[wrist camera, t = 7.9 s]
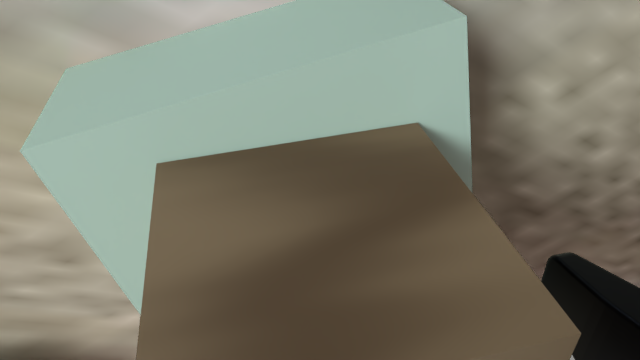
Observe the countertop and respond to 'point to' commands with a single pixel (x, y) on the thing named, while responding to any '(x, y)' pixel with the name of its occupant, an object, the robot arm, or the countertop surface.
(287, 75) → the sage block
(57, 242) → the countertop surface
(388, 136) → the walnut cube
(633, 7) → the countertop surface
